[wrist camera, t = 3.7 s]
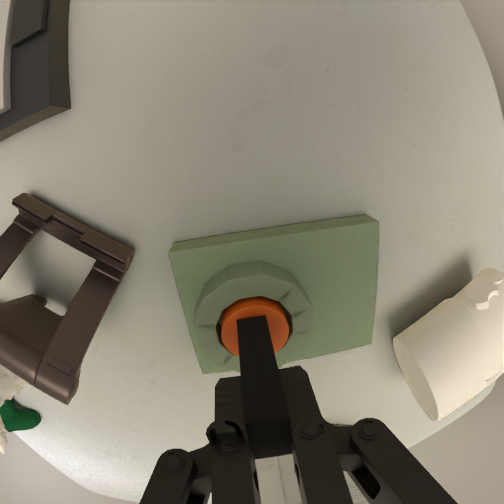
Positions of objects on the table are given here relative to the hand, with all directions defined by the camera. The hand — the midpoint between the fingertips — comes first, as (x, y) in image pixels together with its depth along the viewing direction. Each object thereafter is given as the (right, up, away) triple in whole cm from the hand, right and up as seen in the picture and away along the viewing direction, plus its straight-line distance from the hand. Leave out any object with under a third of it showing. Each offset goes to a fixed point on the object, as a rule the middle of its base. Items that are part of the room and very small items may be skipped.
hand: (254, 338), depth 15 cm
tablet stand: (-13, +3, +2) cm, 13 cm away
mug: (+16, -2, +7) cm, 18 cm away
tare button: (0, +1, +2) cm, 2 cm away
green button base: (+2, +2, +4) cm, 5 cm away
